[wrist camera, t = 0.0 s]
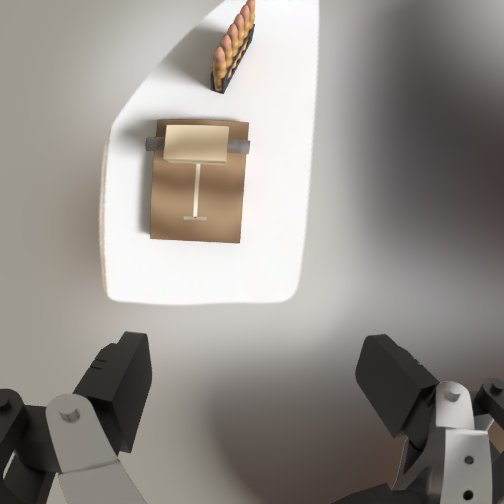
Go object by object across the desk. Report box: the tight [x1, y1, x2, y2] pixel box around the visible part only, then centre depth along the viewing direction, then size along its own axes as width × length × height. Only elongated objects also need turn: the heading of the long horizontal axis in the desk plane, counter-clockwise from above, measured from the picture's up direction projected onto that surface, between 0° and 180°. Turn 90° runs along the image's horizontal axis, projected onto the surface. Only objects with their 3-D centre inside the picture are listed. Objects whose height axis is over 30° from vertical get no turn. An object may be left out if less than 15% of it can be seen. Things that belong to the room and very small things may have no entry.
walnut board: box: [150, 119, 249, 243], centre depth 34 cm, size 16×12×2 cm
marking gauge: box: [146, 125, 250, 165], centre depth 30 cm, size 4×12×5 cm, turn 85°
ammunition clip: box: [211, 0, 255, 94], centre depth 26 cm, size 11×2×12 cm, turn 158°
